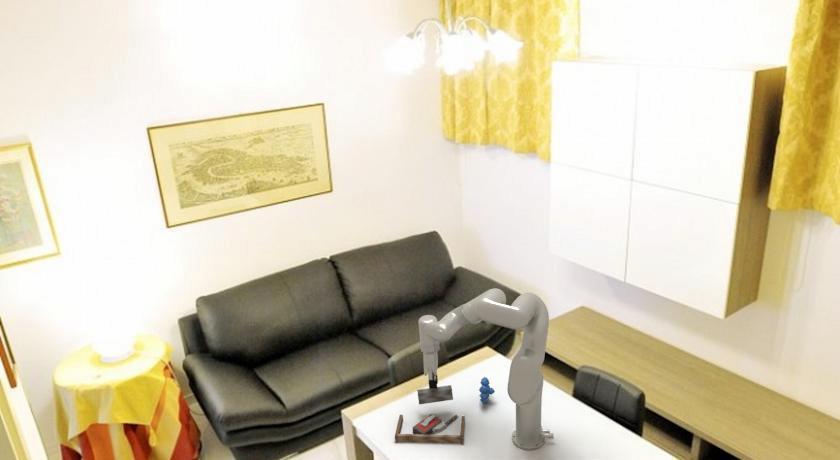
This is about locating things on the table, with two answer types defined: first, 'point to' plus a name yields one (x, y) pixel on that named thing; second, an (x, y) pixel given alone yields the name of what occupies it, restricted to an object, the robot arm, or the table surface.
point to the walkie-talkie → (431, 425)
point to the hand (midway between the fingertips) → (433, 385)
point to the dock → (429, 438)
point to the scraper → (435, 394)
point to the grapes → (485, 390)
